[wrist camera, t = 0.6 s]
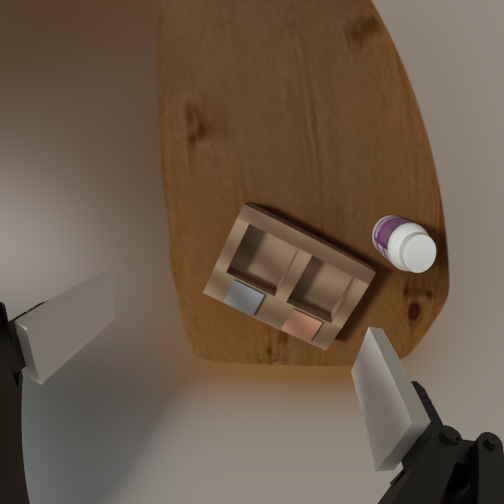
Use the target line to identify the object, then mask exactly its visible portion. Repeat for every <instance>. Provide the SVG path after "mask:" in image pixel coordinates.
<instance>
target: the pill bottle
mask: <svg viewBox="0 0 504 504" xmlns="http://www.w3.org/2000/svg"><path fill="white" fill-rule="evenodd" d="M372 240H373V244H374V246H375V248H376V249H377V251H378V252H379V253H381V254H382V255H383V256H384V257H385V258H386V259H387V260H388V261H390V262H391V263H392V264H393V265H394V266H395V267H397V268H398V269H400V270H403V271H412V272H415V273H420V272H424V271H426V270H427V269H429V268H430V267H431V265H432V264H433V262H434V260H435V257H436V246H435V243H434V241H433V240H432V239H431V238H430V237H429V235H428V234H427V232H426V231H425V229H424V228H423V227H421V226H420V225H418V224H416V223H413V222H410V221H408V220H405V219H403V218H400V217H397V216H392V215H390V216H386V217H383V218H382V219H380V220H379V221H378V222H377V224H376V225H375V227H374V229H373V233H372Z"/></svg>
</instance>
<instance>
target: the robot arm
mask: <svg viewBox="0 0 504 504" xmlns="http://www.w3.org/2000/svg"><path fill="white" fill-rule="evenodd" d="M114 320H115V300H114V273H111V272H107V271H101V272H99V273H97V274H95V275H93V276H92V277H90V278H88V279H87V280H84V281H83V282H81V283H79V284H77V285H75V286H73V287H72V288H70V289H68V290H66V291H64V292H63V293H61V294H59V295H58V296H56V297H54V298H52V299H50V300H49V301H46V302H42V303H40V304H38V305H36V306H34V307H33V308H31V309H29V310H28V311H27V312H24V313H22V314H21V315H19V316H17V317H16V318H14V319H12V320H11V321H9V322H8V318H7V313H6V309H5V305H4V304H3V303H2V302H0V504H30V503H29V498H28V493H27V486H26V480H25V472H24V462H23V450H22V428H21V403H22V380H23V375H22V371H21V370H22V369H23V368H24V367H25V366H26V368H27V372H28V374H29V377H30V378H31V379H33V380H35V381H36V382H38V383H39V384H42V383H43V382H44V381H45V380H47V379H48V378H49V377H50V376H51V375H52V374H53V373H54V372H55V371H57V370H58V369H59V368H60V367H61V366H62V365H63V364H64V363H65V362H67V361H68V360H69V359H70V358H71V357H72V356H73V355H74V354H76V353H77V352H78V351H79V350H80V349H81V348H82V347H83V346H85V345H86V344H87V343H88V342H89V341H90V340H91V339H93V338H94V337H95V336H96V335H97V334H98V333H100V332H101V331H102V330H103V329H104V328H105V327H107V326H108V325H109V324H110V323H111V322H112V321H114ZM351 372H352V376H353V380H354V383H355V387H356V391H357V394H358V398H359V402H360V406H361V410H362V414H363V418H364V422H365V426H366V430H367V434H368V439H369V443H370V447H371V452H372V456H373V461H374V466H375V470H376V471H388V470H394V469H395V468H396V466H397V465H398V464H399V463H400V461H401V462H402V465H403V469H402V471H401V472H400V473H399V474H398V475H397V476H396V477H395V478H394V479H393V480H392V482H391V483H390V484H391V486H390V487H389V489H388V490H387V492H386V493H385V494H384V496H383V497H382V499H381V500H380V501H379V503H378V504H504V452H503V445H502V442H501V440H500V439H499V438H498V436H496V435H495V434H493V433H490V432H484V433H481V434H480V436H479V437H478V438H477V439H476V441H469V440H463V439H462V438H461V435H460V434H459V432H458V431H457V430H455V429H454V428H452V427H449V426H445V425H443V423H442V421H441V419H440V418H439V416H438V414H437V412H436V410H435V408H434V406H433V405H432V402H431V400H430V398H428V395H427V393H426V391H425V389H424V388H423V387H422V386H421V385H420V384H419V383H418V382H417V381H410V379H409V377H408V375H407V373H406V371H405V369H404V367H403V365H402V364H401V362H400V360H399V358H398V356H397V354H396V352H395V351H394V349H393V347H392V345H391V343H390V342H389V340H388V338H387V336H386V335H385V333H384V331H383V329H380V328H373V327H368V330H367V333H366V335H365V338H364V341H363V343H362V346H361V349H360V351H359V354H358V356H357V359H356V361H355V364H354V366H353V369H352V371H351Z"/></svg>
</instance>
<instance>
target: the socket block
mask: <svg viewBox="0 0 504 504" xmlns="http://www.w3.org/2000/svg"><path fill="white" fill-rule="evenodd" d="M375 274H376V272H375V270H374V269H373V268H372V267H371V266H370V265H369V264H367V263H366V262H364V261H362V260H360V259H358V258H356V257H355V256H353V255H351V254H349V253H347V252H345V251H344V250H342V249H340V248H338V247H336V246H334V245H332V244H330V243H328V242H327V241H325V240H323V239H321V238H319V237H317V236H315V235H313V234H311V233H309V232H307V231H305V230H304V229H302V228H300V227H298V226H296V225H294V224H292V223H290V222H288V221H286V220H284V219H282V218H280V217H278V216H276V215H274V214H272V213H270V212H268V211H266V210H264V209H262V208H260V207H258V206H256V205H254V204H252V203H250V202H247V203H245V204H244V205H243V207H242V209H241V211H240V213H239V215H238V218H237V220H236V222H235V224H234V226H233V228H232V230H231V233H230V235H229V237H228V239H227V241H226V243H225V245H224V248H223V250H222V252H221V254H220V256H219V258H218V261H217V263H216V265H215V267H214V269H213V272H212V274H211V276H210V278H209V280H208V283H207V285H206V287H205V289H204V291H203V293H205V294H207V295H209V296H211V297H213V298H215V299H217V300H219V301H221V302H223V303H225V304H227V305H229V306H231V307H233V308H235V309H237V310H239V311H241V312H243V313H245V314H247V315H249V316H251V317H254V318H256V319H258V320H260V321H262V322H264V323H266V324H268V325H270V326H273V327H275V328H277V329H279V330H281V331H283V332H286V333H288V334H290V335H292V336H294V337H297V338H299V339H301V340H303V341H306V342H308V343H310V344H312V345H315V346H317V347H319V348H322V349H324V350H327V348H328V347H329V345H330V344H331V343H332V341H333V340H334V338H335V337H336V335H337V334H338V333H339V331H340V330H341V328H342V327H343V325H344V324H345V322H346V321H347V319H348V318H349V316H350V315H351V313H352V311H353V310H354V308H355V307H356V305H357V304H358V302H359V300H360V299H361V297H362V296H363V294H364V292H365V291H366V289H367V287H368V286H369V284H370V283H371V281H372V279H373V277H374V276H375Z"/></svg>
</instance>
